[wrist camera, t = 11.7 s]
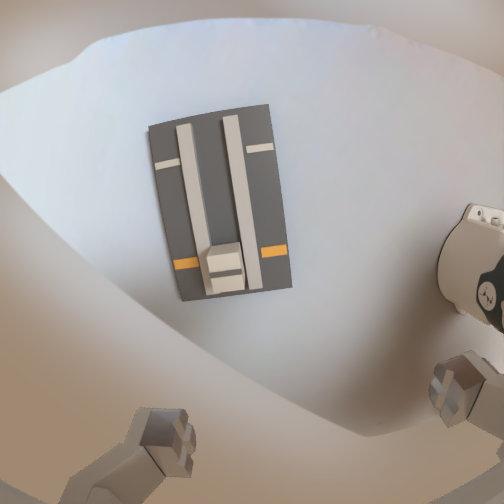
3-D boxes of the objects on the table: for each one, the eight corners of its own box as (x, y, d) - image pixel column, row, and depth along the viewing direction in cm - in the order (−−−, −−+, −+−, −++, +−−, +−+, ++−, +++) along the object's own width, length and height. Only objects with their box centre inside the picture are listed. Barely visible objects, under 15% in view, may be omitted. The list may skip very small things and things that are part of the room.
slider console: (267, 107, 32) (269, 101, 29) (290, 281, 38) (293, 291, 35) (153, 128, 32) (144, 125, 29) (185, 295, 38) (180, 305, 35)
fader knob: (240, 239, 34) (238, 252, 29) (245, 271, 35) (245, 289, 30) (212, 243, 34) (205, 257, 29) (218, 275, 35) (213, 293, 30)
